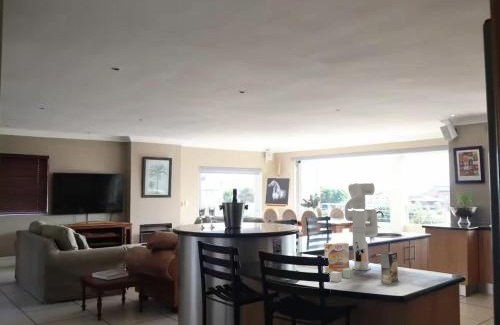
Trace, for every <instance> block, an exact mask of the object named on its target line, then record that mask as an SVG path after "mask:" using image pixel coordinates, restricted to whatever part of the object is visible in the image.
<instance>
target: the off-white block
mask: <svg viewBox="0 0 500 325" xmlns="http://www.w3.org/2000/svg"><path fill="white" fill-rule="evenodd" d="M329 276H330V278H329V279H330V282H337V283H339V282H341V281H343V280H342V279H343V275H342V273H341V272H331V273H330V274H329Z"/></svg>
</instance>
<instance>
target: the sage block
mask: <svg viewBox="0 0 500 325" xmlns="http://www.w3.org/2000/svg"><path fill="white" fill-rule="evenodd" d="M341 274H342V278H349V279H351V278H354V269H352V268H350V267H349V268H344V269H342V273H341Z"/></svg>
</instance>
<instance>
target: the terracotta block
mask: <svg viewBox="0 0 500 325" xmlns="http://www.w3.org/2000/svg"><path fill="white" fill-rule="evenodd" d="M360 255H361V262H362V263H363V262H366V253H360ZM355 262H359V261H356V254H355Z"/></svg>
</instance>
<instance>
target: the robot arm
mask: <svg viewBox="0 0 500 325" xmlns="http://www.w3.org/2000/svg"><path fill="white" fill-rule="evenodd" d="M347 187H348V192H349V195H350V197H351V198H350V199H349V200H348V201H347V202H346V204H345V206H344V218H345V220H346V221H348V222H352V226H351V233H352V249H353V261H354V264H353V265H354V266H352V267H351V269H353V270H357V271H370V270H371V269H372V268H371V266H369V265H370V262H369V246H368V245H369V244H368V242H367V239H366V238H376V237H377V236H378V234H379V233H378V232H379V230H378V229H379V228H378V226H379V225H378V213H377V209H376V208H374V207H366V196H373V195H374V194H375V189H376V188H375V185H374V183H373V182H372V181H358V182H357V181H356V182H354V183H351V184H349V185H348V186H347ZM360 253H366V262H363V263H362V262H361V255H360ZM355 254H356V261H359V262H355Z"/></svg>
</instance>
